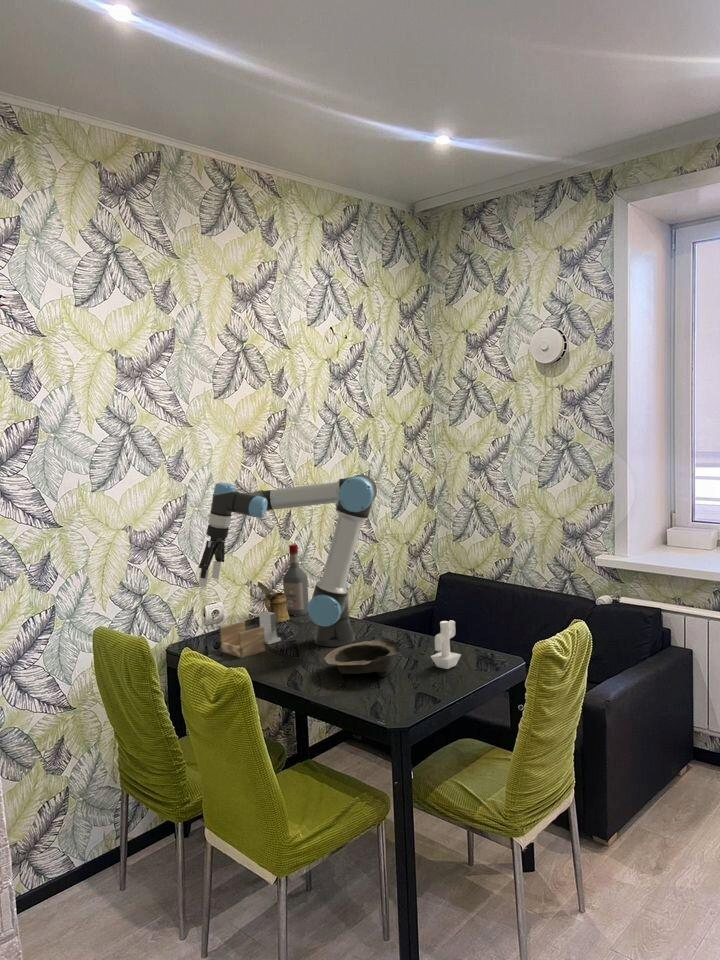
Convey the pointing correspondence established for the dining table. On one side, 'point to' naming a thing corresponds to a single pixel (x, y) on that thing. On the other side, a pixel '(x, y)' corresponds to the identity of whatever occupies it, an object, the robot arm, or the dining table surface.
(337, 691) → the dining table surface
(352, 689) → the dining table surface
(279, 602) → the wooden mug
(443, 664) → the figurine
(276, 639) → the bracket
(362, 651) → the stone bowl
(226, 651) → the open wooden box
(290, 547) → the liquor
